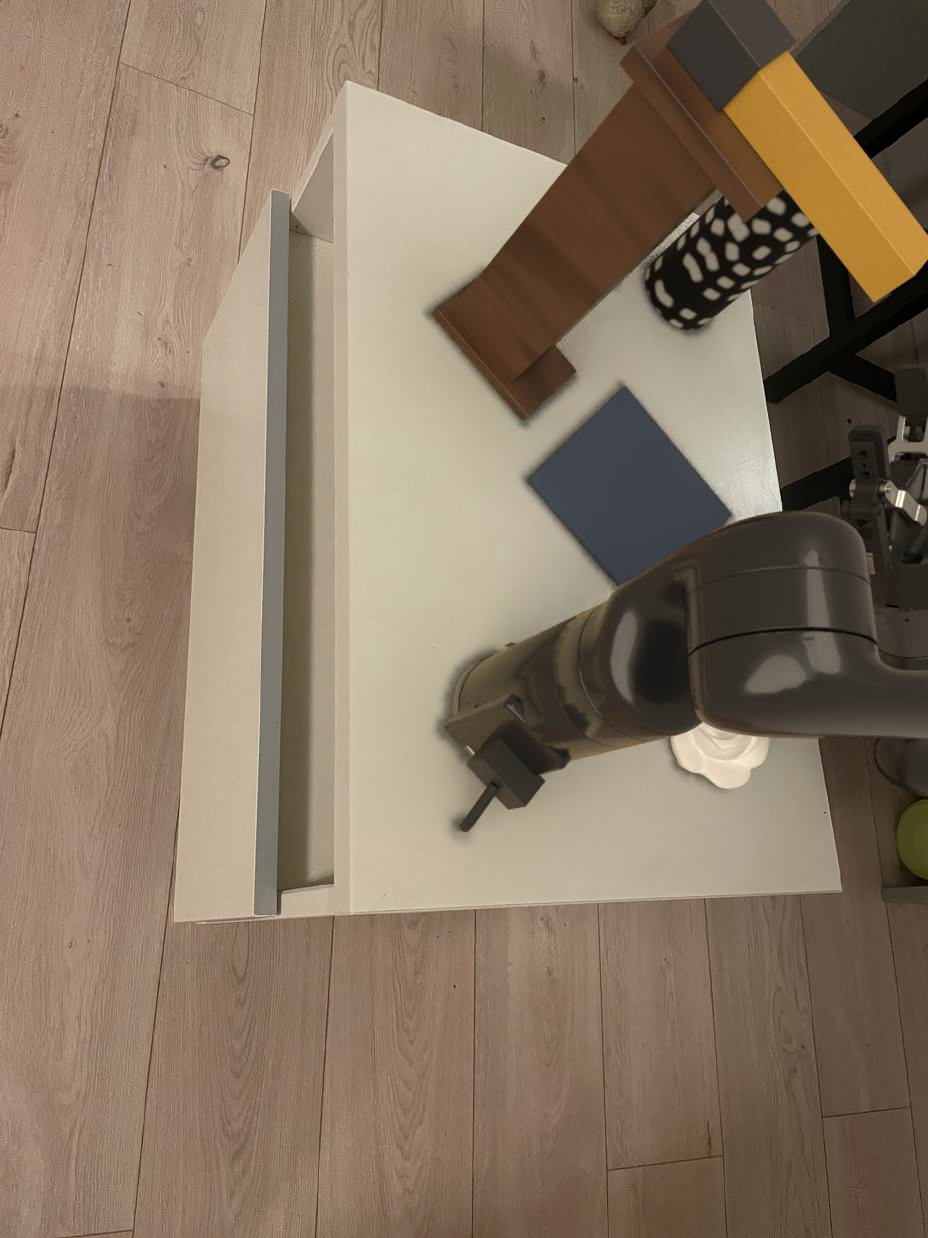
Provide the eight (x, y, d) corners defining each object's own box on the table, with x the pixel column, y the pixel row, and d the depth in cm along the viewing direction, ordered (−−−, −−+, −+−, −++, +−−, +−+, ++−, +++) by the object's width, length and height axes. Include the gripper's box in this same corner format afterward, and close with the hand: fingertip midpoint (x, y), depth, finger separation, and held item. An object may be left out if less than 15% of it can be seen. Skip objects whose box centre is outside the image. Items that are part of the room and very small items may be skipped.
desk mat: (645, 618, 81) (649, 616, 81) (526, 480, 79) (529, 477, 79) (728, 516, 89) (732, 513, 89) (621, 388, 87) (625, 385, 87)
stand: (515, 426, 80) (762, 207, 55) (423, 318, 79) (633, 43, 54) (577, 371, 85) (829, 147, 60) (491, 268, 84) (713, -5, 59)
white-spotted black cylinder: (706, 343, 94) (867, 219, 77) (641, 307, 91) (793, 170, 74) (712, 280, 98) (868, 148, 81) (649, 243, 95) (797, 98, 78)
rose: (801, 774, 78) (717, 794, 74) (763, 780, 82) (681, 799, 78) (770, 660, 80) (686, 672, 76) (734, 671, 84) (652, 683, 79)
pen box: (870, 306, 57) (919, 273, 54) (665, 44, 55) (705, -6, 52) (899, 272, 60) (947, 239, 57) (704, 19, 58) (744, -29, 55)
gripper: (992, 535, 73) (982, 343, 64) (930, 650, 65) (910, 451, 57) (893, 528, 78) (872, 349, 69) (826, 634, 70) (792, 449, 62)
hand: (889, 395), depth 63 cm, fingers open, 8 cm apart
